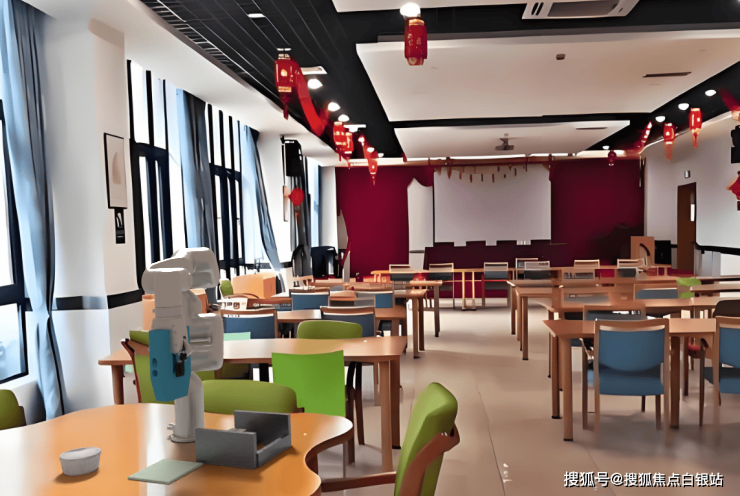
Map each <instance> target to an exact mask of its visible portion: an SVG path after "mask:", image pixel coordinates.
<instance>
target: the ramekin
mask: <svg viewBox="0 0 740 496" xmlns="http://www.w3.org/2000/svg"><path fill="white" fill-rule="evenodd" d="M101 454H102V449H101V448H100V447H98V446H87V447H77V448H73V449H69V450H66V451H64V452H62V453H61V454H60V455H58V457H59V458H58V459H59V461H60V465H61V469H62V474H65V475H66V476H68V477H69V476H70V477H74V476H83V475H86V474H90V473H93V472H95V471H96V470H97V469H98V468H99V466H100V461H101Z"/></svg>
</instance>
